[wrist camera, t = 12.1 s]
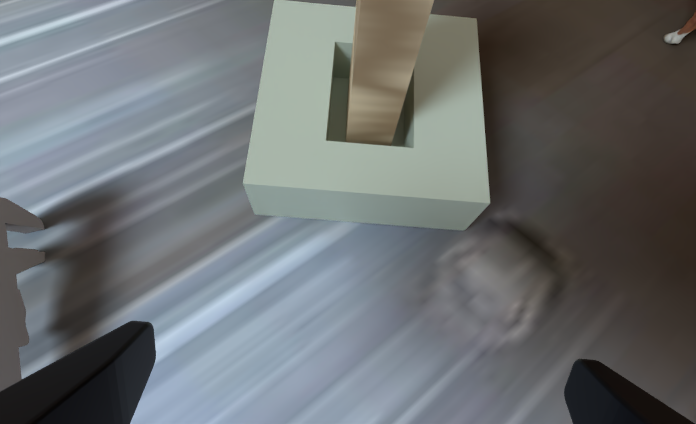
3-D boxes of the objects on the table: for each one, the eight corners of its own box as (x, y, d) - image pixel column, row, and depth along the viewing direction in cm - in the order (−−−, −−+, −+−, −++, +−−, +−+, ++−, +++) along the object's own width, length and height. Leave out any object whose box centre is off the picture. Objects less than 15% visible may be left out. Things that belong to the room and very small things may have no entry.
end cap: (456, 65, 29) (476, 18, 25) (464, 230, 24) (490, 203, 21) (280, 49, 29) (274, -1, 25) (254, 214, 24) (242, 183, 20)
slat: (388, 94, 26) (444, -149, 14) (387, 157, 25) (450, -58, 13) (348, 91, 26) (371, -155, 14) (344, 154, 25) (368, -65, 13)
